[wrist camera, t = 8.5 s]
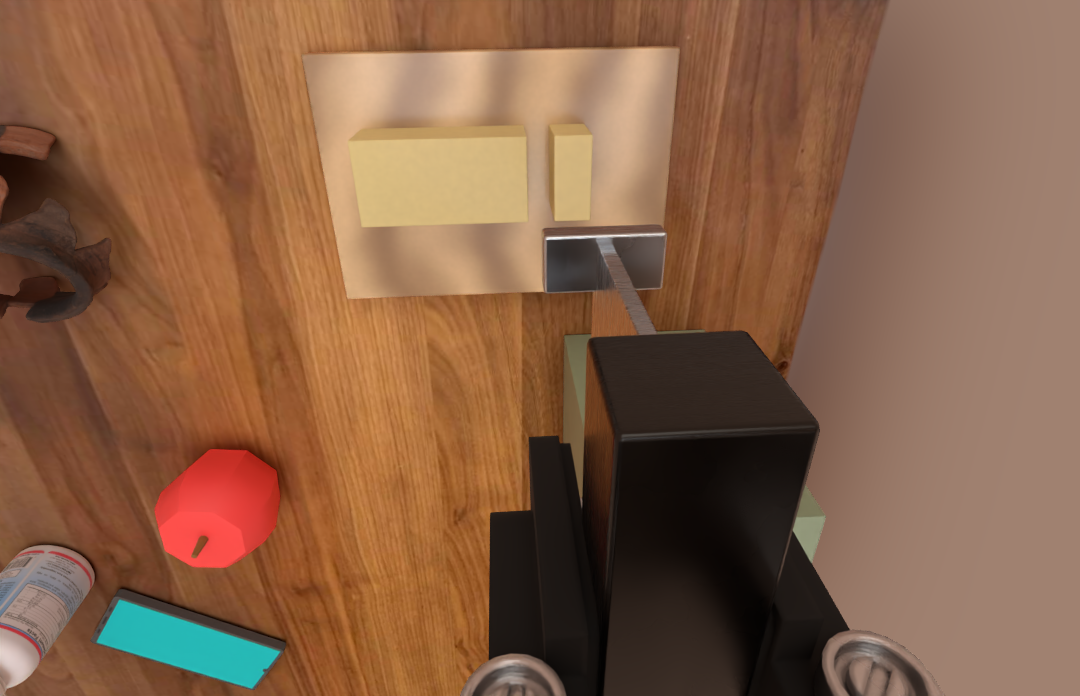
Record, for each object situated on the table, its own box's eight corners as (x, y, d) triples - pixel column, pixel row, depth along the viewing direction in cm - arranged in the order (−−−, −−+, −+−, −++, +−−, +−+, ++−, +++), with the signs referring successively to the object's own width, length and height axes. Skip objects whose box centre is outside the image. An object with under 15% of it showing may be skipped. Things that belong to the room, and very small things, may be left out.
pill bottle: (26, 589, 51) (-87, 727, 41) (10, 538, 48) (-116, 674, 38) (104, 594, 51) (12, 731, 42) (93, 545, 49) (-9, 679, 39)
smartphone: (114, 595, 50) (284, 650, 55) (120, 587, 51) (287, 642, 56) (89, 643, 53) (253, 691, 58) (94, 634, 54) (256, 683, 59)
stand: (704, 329, 42) (826, 516, 27) (686, 460, 48) (777, 677, 32) (563, 335, 42) (604, 529, 26) (562, 467, 48) (595, 689, 32)
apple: (276, 523, 49) (240, 609, 42) (174, 493, 46) (117, 577, 39) (307, 454, 45) (272, 534, 38) (198, 417, 43) (140, 495, 36)
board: (673, 45, 33) (681, 47, 32) (653, 278, 40) (658, 287, 39) (308, 52, 32) (300, 53, 31) (351, 290, 39) (346, 299, 38)
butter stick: (523, 124, 33) (526, 136, 30) (525, 204, 36) (528, 222, 32) (360, 128, 33) (346, 140, 30) (372, 209, 35) (361, 227, 32)
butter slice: (584, 123, 33) (593, 134, 30) (582, 202, 36) (590, 220, 33) (548, 124, 33) (554, 135, 30) (549, 203, 36) (554, 221, 33)
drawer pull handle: (662, 208, 12) (846, 423, 6) (632, 534, 16) (717, 855, 10) (541, 212, 12) (593, 437, 5) (545, 539, 16) (576, 867, 10)
